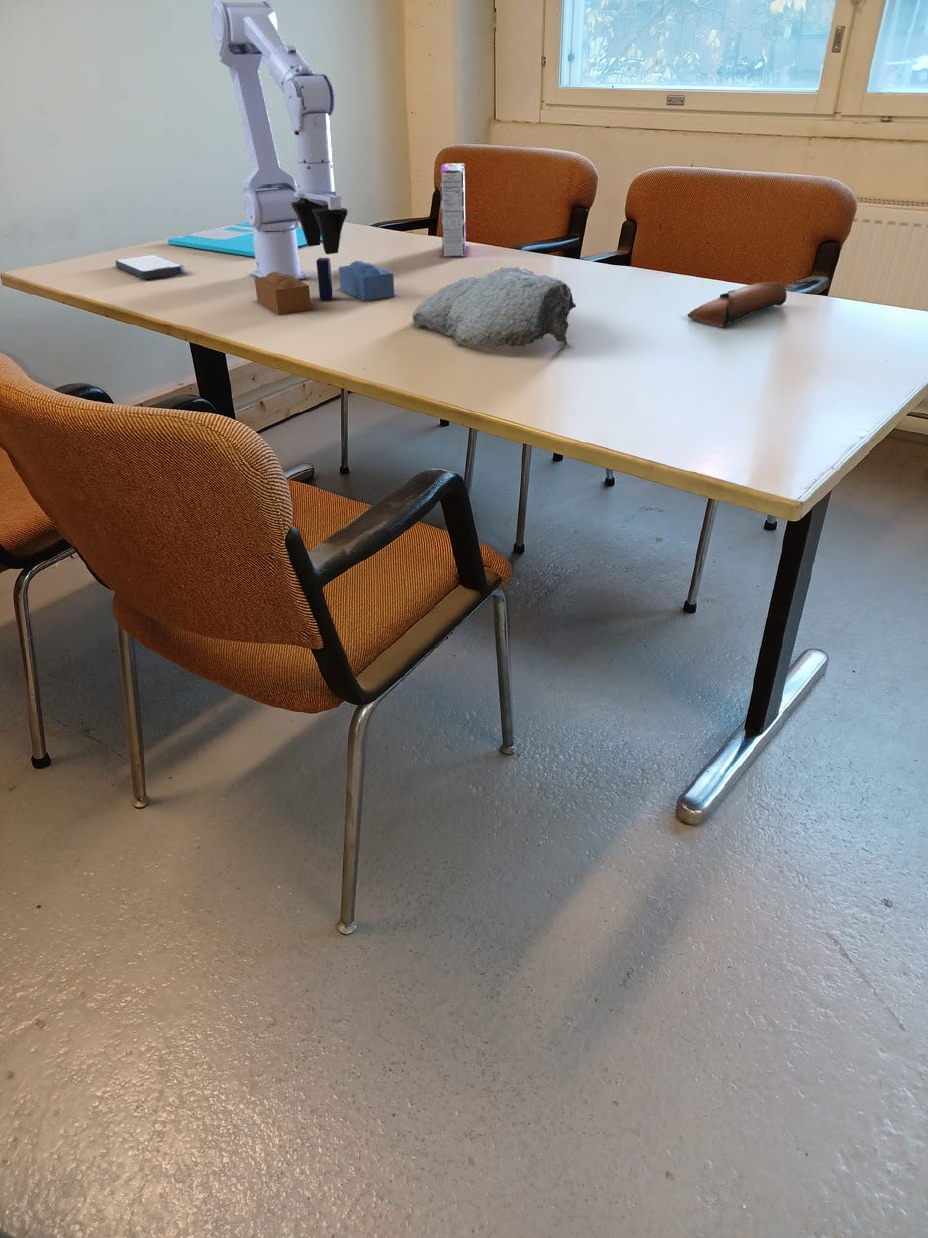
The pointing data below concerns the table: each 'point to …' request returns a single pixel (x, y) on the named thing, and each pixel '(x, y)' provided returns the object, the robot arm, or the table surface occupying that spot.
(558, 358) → the table surface
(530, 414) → the table surface
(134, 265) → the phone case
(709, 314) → the sunglasses case
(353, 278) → the blue rectangular block
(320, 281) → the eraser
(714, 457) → the table surface
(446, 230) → the candy bar box
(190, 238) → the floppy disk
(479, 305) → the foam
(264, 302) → the brown lumpy block
